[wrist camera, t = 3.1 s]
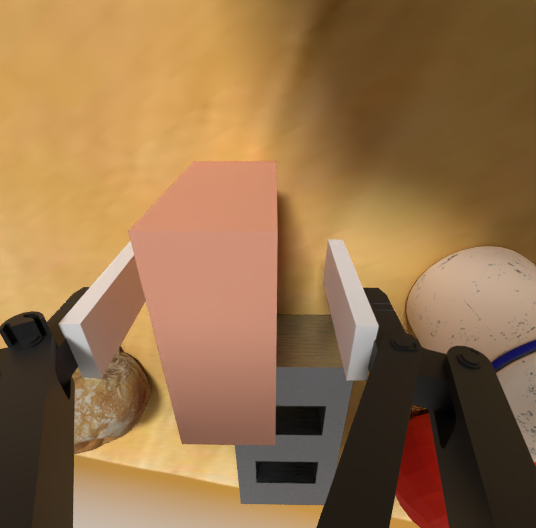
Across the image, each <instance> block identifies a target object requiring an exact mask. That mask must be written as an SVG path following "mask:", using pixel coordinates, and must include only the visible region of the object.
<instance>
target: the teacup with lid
mask: <svg viewBox="0 0 536 528" xmlns="http://www.w3.org/2000/svg"><path fill="white" fill-rule="evenodd" d="M406 312H407V318H408V321H409V324H410V326H411V327H412V329H413V331H414V333H415V335H416V337H417V339H418V340H419V342H420V344H421V346H422V347H423V348H425V349H429V350H432V351H436V352H440V353H445V354H447V351H448V350H449V349H450V348H451V347H454V346H467V347H470V348H473V349H475V350H477V351H479V352H481V353H482V354H484V355H485V356H486V357H487V358H488V359H489V360H490V362H491V363H492V365H493V367H494V370H495V372H496V374H497V377H498V379H499V381H500V384H501V386H502V388H503V391H504V393H505V395H506V398H507V400H508V402H509V405H510V407H511V410H512V412H513V414H514V417H515V419H516V421H517V424H518V426H519V428H520V431H521V433H522V435H523V438H524V440H525V442H526V445H527V447H528V449H529V452H530V454H531V457H532V459H533V461H534V462H536V265H535V264H533V263H532V262H531V261H529V260H528V259H526V258H525V257H524V256H522V255H521V254H519V253H517V252H515V251H513V250H510V249H507V248H502V247H494V246H482V247H474V248H469V249H465V250H462V251H458V252H456V253H453V254H451V255H449V256H447V257H445V258H443V259H441V260H439V261H438V262H436V263H435V264H434V265H432V266H431V267H430V268H428V269H427V270H426V271H425V272H424V273H423V274H422V275H421V276H420V277H419V279H418V280H417V281H416V283H415V284H414V286H413V287H412V289H411V291H410V294H409V296H408V300H407V306H406Z"/></svg>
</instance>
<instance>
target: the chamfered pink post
mask: <svg viewBox="0 0 536 528" xmlns="http://www.w3.org/2000/svg"><path fill="white" fill-rule="evenodd" d="M128 232H129V236H130V240H131V244H132V248H133V252H134V256H135V260H136V264H137V268H138V272H139V276H140V280H141V284H142V288H143V292H144V296H145V300H146V303H147V307H148V311H149V315H150V319H151V323H152V327H153V331H154V335H155V339H156V343H157V347H158V351H159V355H160V359H161V363H162V367H163V371H164V375H165V379H166V383H167V386H168V390H169V394H170V398H171V402H172V406H173V410H174V414H175V418H176V422H177V426H178V430H179V434H180V438H181V442H182V444H215V445H275V434H276V337H277V240H278V227H277V176H276V161H194V162H193V163H192V164H191V165H190V166H189V167H188V168H187V169H186V170H185V171H184V172H183V173H182V174H181V175H180V176H179V178H178V179H177V180H176V181H175V182H174V183H173V184H172V185H171V186H170V187H169V188H168V189H167V190H166V191H165V193H164V194H163V195H162V196H161V197H160V198H159V199H158V200H157V201H156V202H155V203H154V204H153V205H152V206H151V207H150V209H149V210H148V211H147V212H146V213H145V214H144V215H143V216H142V217H141V218H140V219H139V220H138V221H137V222H136V223H135V225H134V226H133V227H132V228H131V229H130V230H129V231H128Z"/></svg>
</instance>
